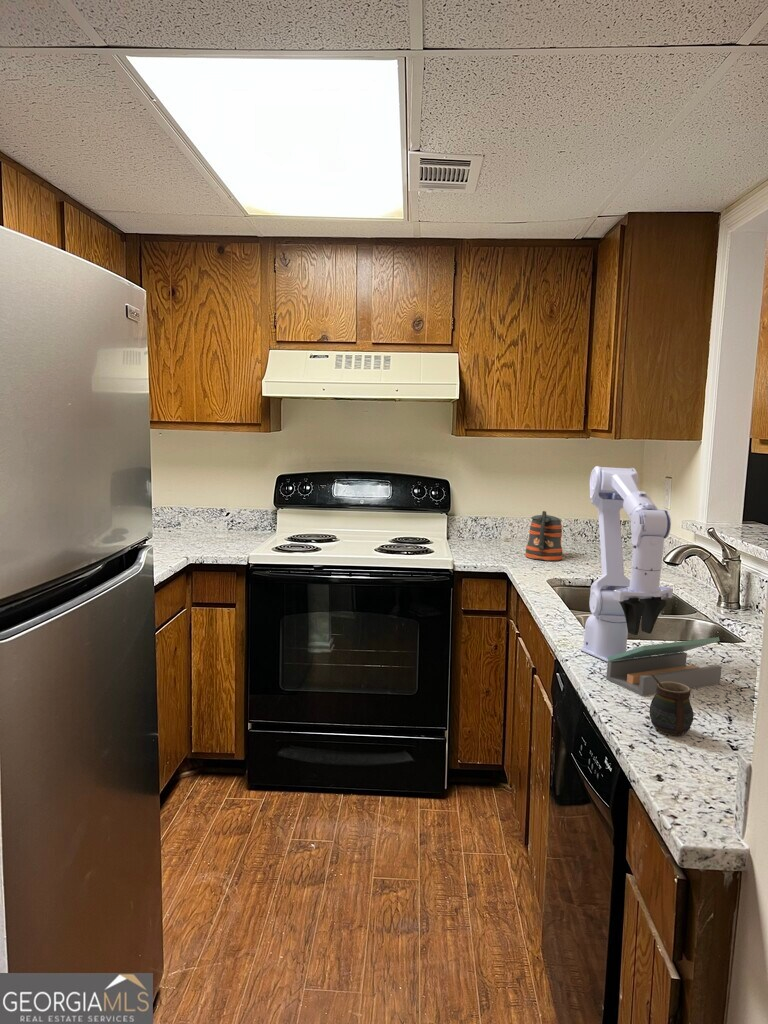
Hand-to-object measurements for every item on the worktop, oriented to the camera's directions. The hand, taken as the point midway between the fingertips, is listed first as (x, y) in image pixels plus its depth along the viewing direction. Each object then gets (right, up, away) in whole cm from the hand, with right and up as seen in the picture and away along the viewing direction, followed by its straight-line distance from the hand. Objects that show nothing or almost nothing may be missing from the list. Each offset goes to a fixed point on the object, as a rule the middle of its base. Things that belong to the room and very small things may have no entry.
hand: (639, 632), depth 151 cm
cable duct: (+6, -11, +2) cm, 12 cm away
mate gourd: (-3, -13, -23) cm, 27 cm away
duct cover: (+6, -4, +2) cm, 7 cm away
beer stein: (+11, +6, +141) cm, 141 cm away
